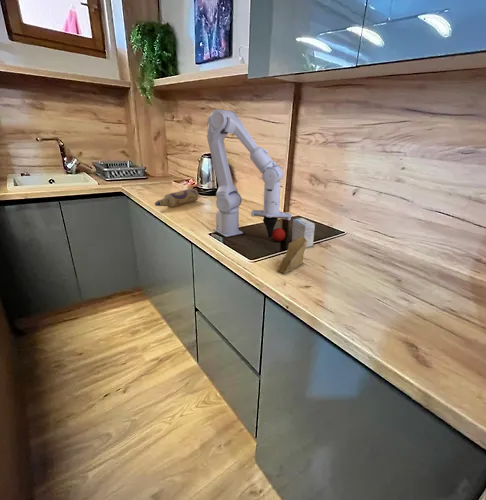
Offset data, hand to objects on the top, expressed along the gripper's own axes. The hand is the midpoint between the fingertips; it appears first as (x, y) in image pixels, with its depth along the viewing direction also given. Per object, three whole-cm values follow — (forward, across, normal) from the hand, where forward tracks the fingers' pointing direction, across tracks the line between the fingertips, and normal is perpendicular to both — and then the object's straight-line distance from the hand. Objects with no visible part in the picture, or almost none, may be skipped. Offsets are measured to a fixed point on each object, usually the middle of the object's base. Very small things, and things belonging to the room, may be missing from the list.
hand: (270, 236), depth 114 cm
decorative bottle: (+2, -56, +33) cm, 65 cm away
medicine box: (+2, +12, 0) cm, 12 cm away
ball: (-1, +3, 0) cm, 3 cm away
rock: (+2, +11, -21) cm, 23 cm away
